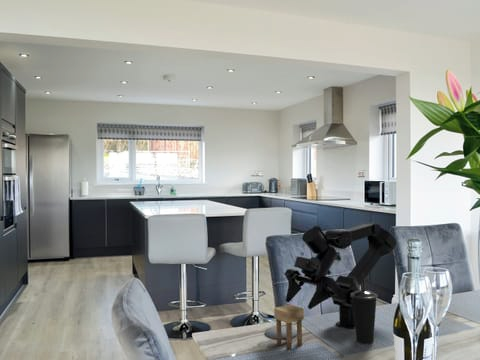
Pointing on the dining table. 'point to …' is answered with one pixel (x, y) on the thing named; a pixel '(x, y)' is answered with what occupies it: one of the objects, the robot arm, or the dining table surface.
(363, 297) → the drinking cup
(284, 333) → the disc
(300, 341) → the wooden stool
